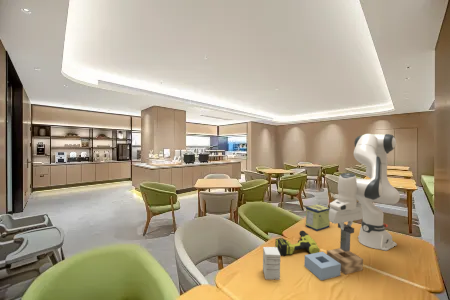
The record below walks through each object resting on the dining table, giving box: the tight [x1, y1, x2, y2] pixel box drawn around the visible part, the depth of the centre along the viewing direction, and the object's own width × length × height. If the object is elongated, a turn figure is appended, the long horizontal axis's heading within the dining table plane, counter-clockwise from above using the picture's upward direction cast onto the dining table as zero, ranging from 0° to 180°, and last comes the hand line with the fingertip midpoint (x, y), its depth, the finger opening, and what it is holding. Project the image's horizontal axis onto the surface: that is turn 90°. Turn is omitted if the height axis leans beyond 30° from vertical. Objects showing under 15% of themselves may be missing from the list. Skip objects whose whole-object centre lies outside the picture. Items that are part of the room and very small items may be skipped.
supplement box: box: [262, 246, 281, 280], centre depth 104 cm, size 7×7×13 cm
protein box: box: [305, 203, 331, 232], centre depth 163 cm, size 10×16×16 cm
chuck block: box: [303, 251, 342, 281], centre depth 108 cm, size 12×12×6 cm
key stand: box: [326, 247, 364, 275], centre depth 113 cm, size 12×12×6 cm
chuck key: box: [337, 223, 355, 252], centre depth 112 cm, size 8×3×13 cm, turn 18°
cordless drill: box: [274, 230, 321, 257], centre depth 134 cm, size 7×25×25 cm
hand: (345, 228), depth 112 cm, fingers closed on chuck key, 2 cm apart
